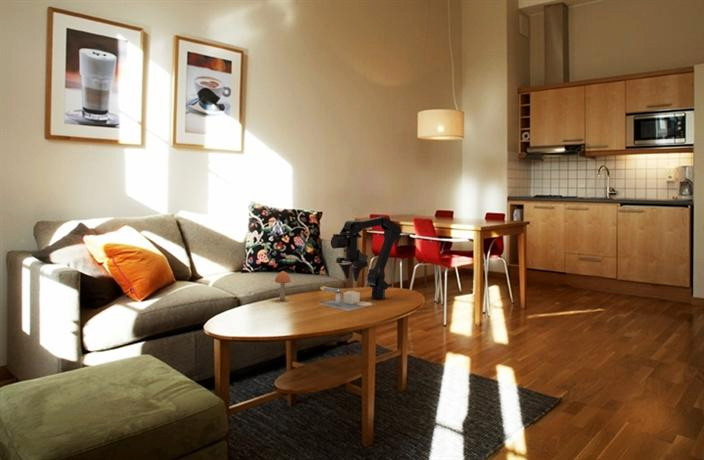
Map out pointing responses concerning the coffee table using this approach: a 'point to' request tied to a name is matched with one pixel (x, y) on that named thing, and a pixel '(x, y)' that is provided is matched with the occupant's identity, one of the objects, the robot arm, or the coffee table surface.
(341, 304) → the board
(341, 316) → the coffee table surface
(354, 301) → the beige cube
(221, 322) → the coffee table surface
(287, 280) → the mushroom
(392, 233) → the robot arm
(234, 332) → the coffee table surface
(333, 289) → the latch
